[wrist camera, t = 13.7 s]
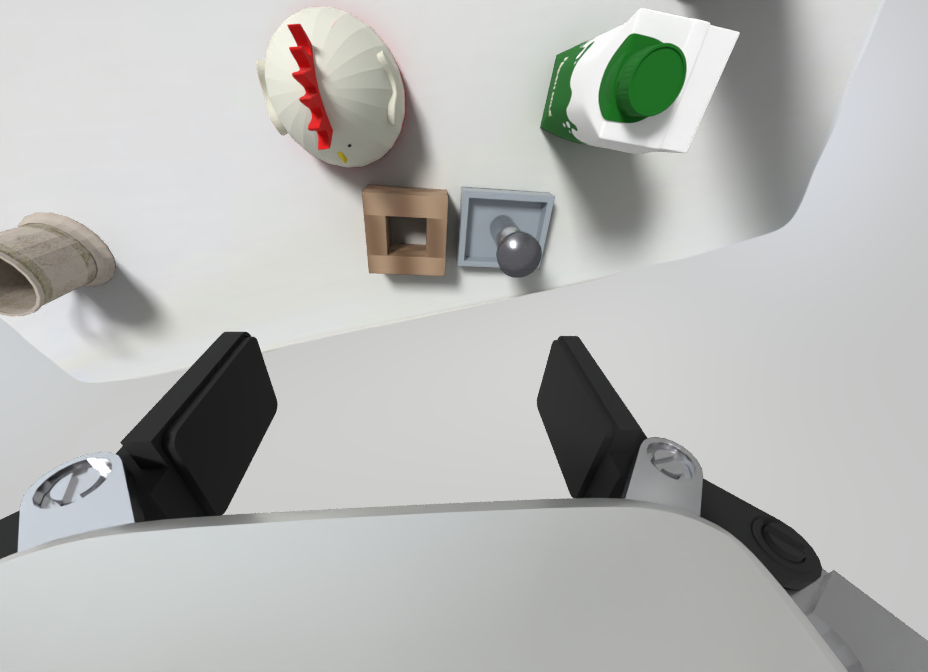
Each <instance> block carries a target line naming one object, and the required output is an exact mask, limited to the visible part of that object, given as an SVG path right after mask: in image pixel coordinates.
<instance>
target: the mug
mask: <svg viewBox="0 0 928 672" xmlns="http://www.w3.org/2000/svg"><path fill="white" fill-rule="evenodd" d="M115 268H116V267H115V262H114V258H113V255H112V254H111V252H110V250H109V249H108V247H107V245H106V244H105V243H104V242H103V241H102V240H101V239H100V238H99V237H98V236H97V235H96V234H95V233H94V232H92V231H91V230H89V229H88V228H87V227H85V226H84V225H83V224H81V223H78V222H76V221H74V220H72V219H70V218H68V217H65V216H62V215H58V214H54V213H34V214H31V215H29V216H26V217H24V218H23V220H22V221H21V222H20V223H19V225H18V227H17V228H13V229H9V230H6V231H2V232H0V314H2V315H7V316H25V315H28V314H31V313H33V312H35V311H37V310H38V309H39V308H40V307H41V306H42V305H44V304H46V303H48V302H50V301H53V300H55V299H57V298H59V297H61V296H63V295H65V294H67V293H69V292H71V291H73V290H75V289H77V288H79V287H81V286H98V285H101V284H104V283H107V282H108V281H109V280H110V279H111V278H112V277H113V276H114V272H115Z"/></svg>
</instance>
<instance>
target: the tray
mask: <svg viewBox="0 0 928 672" xmlns="http://www.w3.org/2000/svg"><path fill="white" fill-rule="evenodd" d="M554 199H555V196H554V195H552V194H550V193H547V192H532V191H517V190H502V189H487V188H472V187H461V202H460V217H459V232H458V247H457V264H458V266H473V267H499V268H500V266H499V264H498V262H497V258H496V252H497V246H496V244H495V242H494V240H493V238H492V236H491V234H490V224H491V222H492V221H493V219H495V218H496V217H497V216H500V215H507V216H509V217H511V218H512V219H513V221H514V222H515V223H516V225H517V226H518V227H519V229H520V230H521V231H522V232H527V233H529V234H531V235H532V236H533V237H534V238H535V239H536V240H537V241H538V242H539V244H540V246H541V249H542V254H543V250H544V245H545V240H546V236H547V231H548V226H549V222H550V217H551V213H552V208H553V203H554ZM541 259H542V258H541ZM540 264H541V261H540V263H539V265H538V267H537V268H536V269H539V268H540Z"/></svg>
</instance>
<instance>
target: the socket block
mask: <svg viewBox="0 0 928 672" xmlns="http://www.w3.org/2000/svg"><path fill="white" fill-rule="evenodd" d="M362 198H363V210H364V221H365V233H366V244H367V256H368V267H369V273H377V274H406V275H435V276H445V255H446V234H447V213H448V195H447V191H446V190H441V189H426V188H410V187H395V186H380V185H368V186H367V187H366V188H365V189H364V190H363V192H362ZM390 216H398V217H416V218H427V235H426V245H417V244H395V243H391V236H390Z"/></svg>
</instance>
